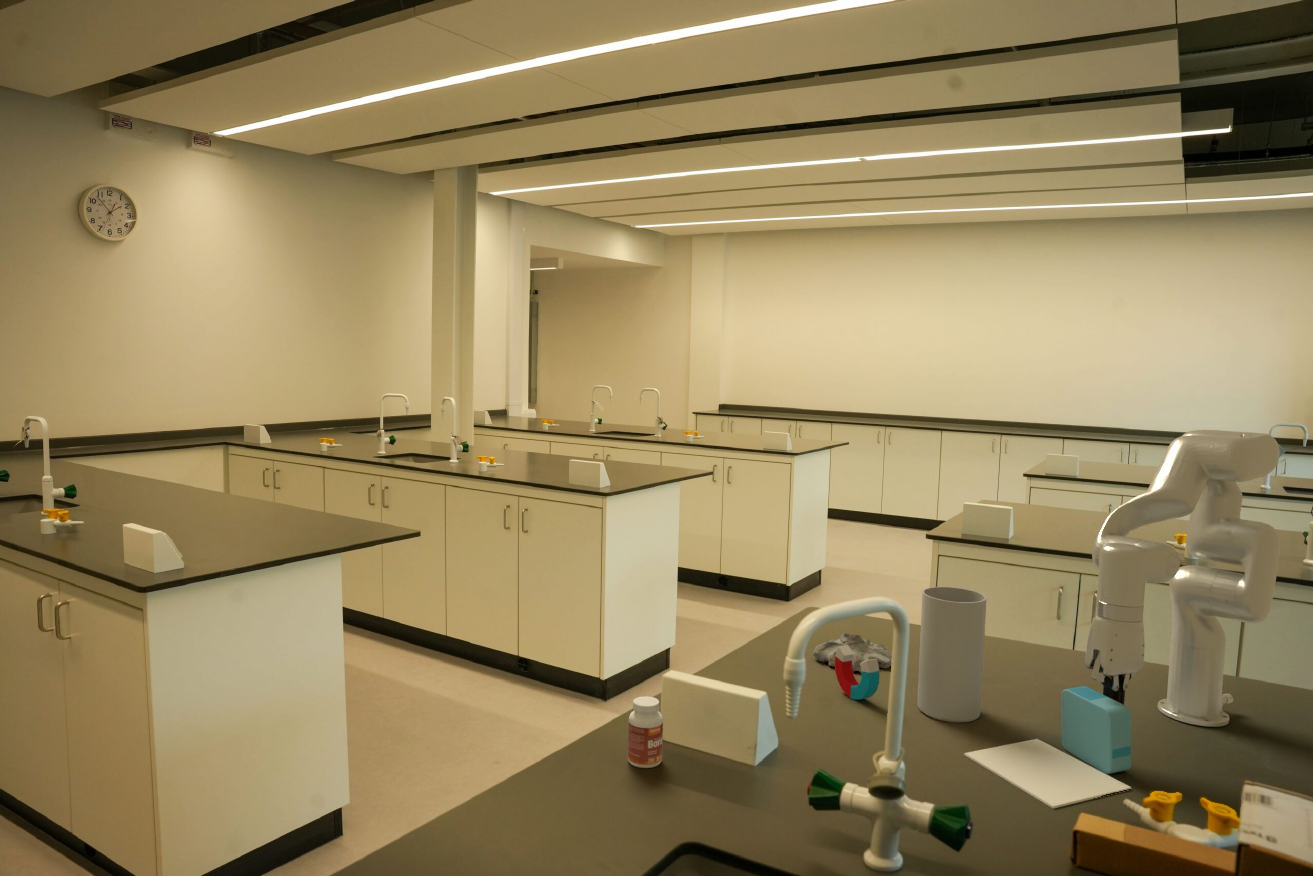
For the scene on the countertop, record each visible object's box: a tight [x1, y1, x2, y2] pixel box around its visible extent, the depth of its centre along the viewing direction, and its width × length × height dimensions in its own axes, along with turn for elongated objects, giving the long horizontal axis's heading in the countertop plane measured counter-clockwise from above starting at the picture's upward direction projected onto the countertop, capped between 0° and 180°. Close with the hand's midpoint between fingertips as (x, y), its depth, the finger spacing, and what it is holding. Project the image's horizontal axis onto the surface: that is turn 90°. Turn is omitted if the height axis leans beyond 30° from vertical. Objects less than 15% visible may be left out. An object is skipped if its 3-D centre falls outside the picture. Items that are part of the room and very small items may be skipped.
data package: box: [1060, 685, 1132, 775], centre depth 150 cm, size 12×4×12 cm, turn 15°
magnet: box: [834, 645, 881, 701], centre depth 178 cm, size 12×3×10 cm, turn 26°
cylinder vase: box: [916, 586, 987, 724], centre depth 171 cm, size 12×12×25 cm
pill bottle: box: [627, 695, 664, 769], centre depth 147 cm, size 6×6×11 cm
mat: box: [963, 738, 1132, 810], centre depth 146 cm, size 18×20×1 cm
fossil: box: [812, 633, 893, 674], centre depth 202 cm, size 18×11×15 cm
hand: (1112, 708), depth 152 cm, fingers closed
